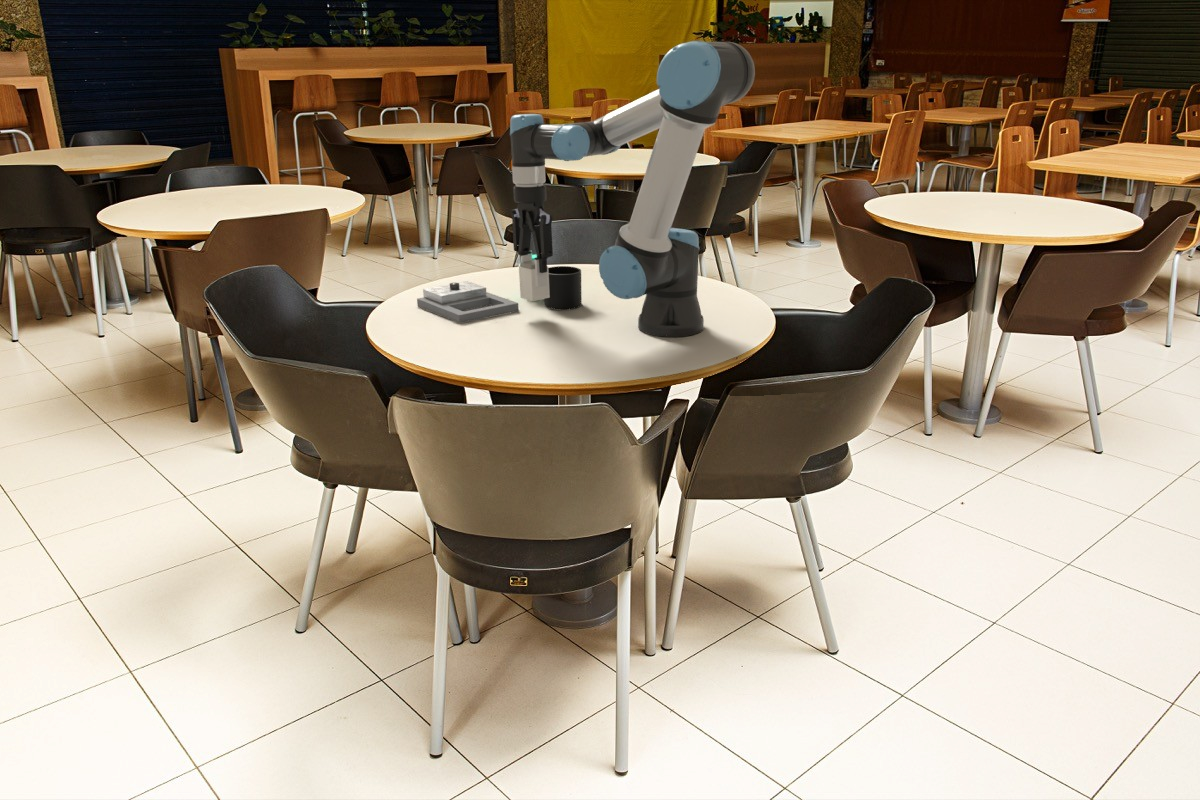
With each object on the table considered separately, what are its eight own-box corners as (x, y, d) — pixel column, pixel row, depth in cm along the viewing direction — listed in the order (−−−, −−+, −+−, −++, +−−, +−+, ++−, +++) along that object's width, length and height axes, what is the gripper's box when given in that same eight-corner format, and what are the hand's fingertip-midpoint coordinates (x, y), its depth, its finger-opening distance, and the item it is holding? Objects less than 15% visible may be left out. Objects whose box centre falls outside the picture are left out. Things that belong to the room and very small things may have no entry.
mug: (584, 298, 241) (584, 264, 237) (579, 310, 230) (579, 274, 226) (548, 297, 241) (547, 263, 238) (541, 310, 230) (540, 274, 227)
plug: (549, 297, 222) (548, 262, 219) (532, 301, 219) (530, 265, 216) (537, 294, 225) (535, 259, 222) (520, 297, 222) (518, 262, 219)
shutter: (486, 295, 236) (485, 282, 234) (441, 303, 228) (441, 291, 227) (467, 288, 242) (466, 276, 241) (423, 296, 234) (422, 284, 233)
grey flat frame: (518, 310, 229) (518, 303, 229) (459, 323, 219) (459, 315, 219) (474, 295, 244) (474, 287, 243) (417, 306, 234) (416, 298, 233)
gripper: (566, 186, 208) (570, 287, 216) (520, 179, 222) (525, 275, 230) (539, 189, 204) (544, 292, 212) (494, 182, 217) (500, 280, 225)
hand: (534, 283), depth 221 cm, fingers closed on plug, 5 cm apart
